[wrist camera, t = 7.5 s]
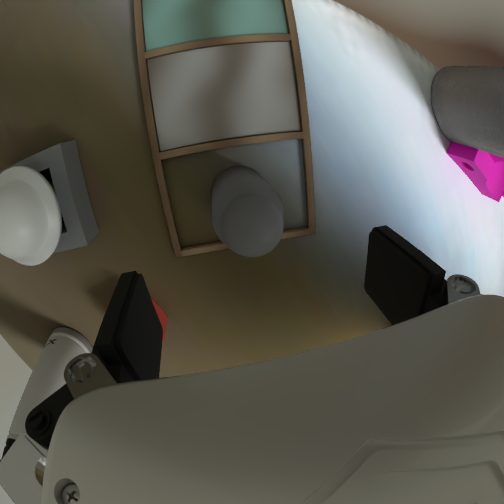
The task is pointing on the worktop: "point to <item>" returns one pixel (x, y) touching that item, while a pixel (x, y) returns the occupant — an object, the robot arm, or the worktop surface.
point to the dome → (28, 216)
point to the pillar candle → (471, 106)
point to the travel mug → (47, 376)
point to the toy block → (480, 169)
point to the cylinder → (246, 212)
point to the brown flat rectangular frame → (221, 85)
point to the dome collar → (67, 193)
